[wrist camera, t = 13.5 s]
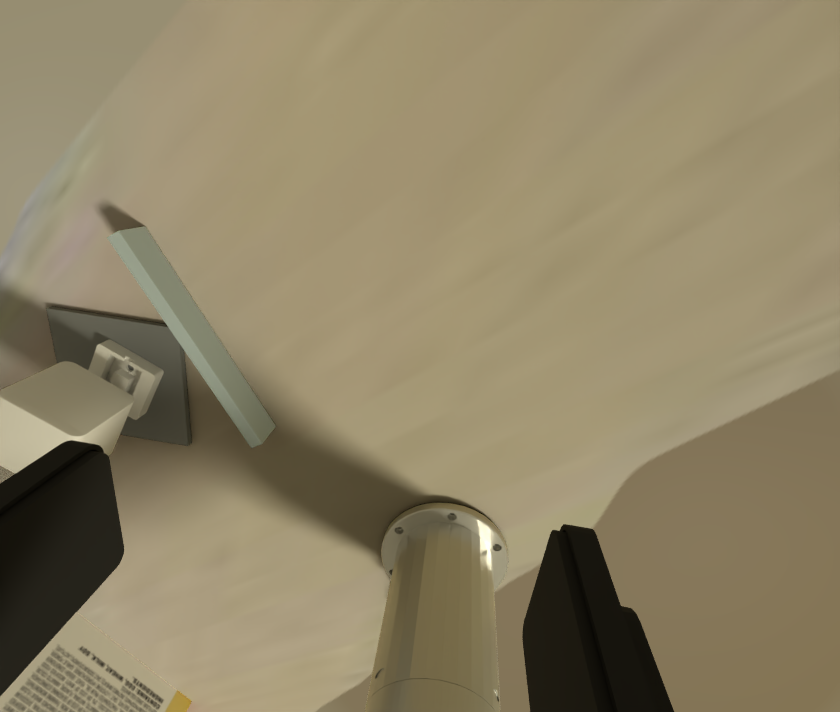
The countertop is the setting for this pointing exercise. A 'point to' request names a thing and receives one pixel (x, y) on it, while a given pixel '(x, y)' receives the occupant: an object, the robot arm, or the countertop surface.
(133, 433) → the mat
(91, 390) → the security camera
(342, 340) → the countertop surface
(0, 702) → the pasta box
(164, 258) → the low wall
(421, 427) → the countertop surface
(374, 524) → the countertop surface
